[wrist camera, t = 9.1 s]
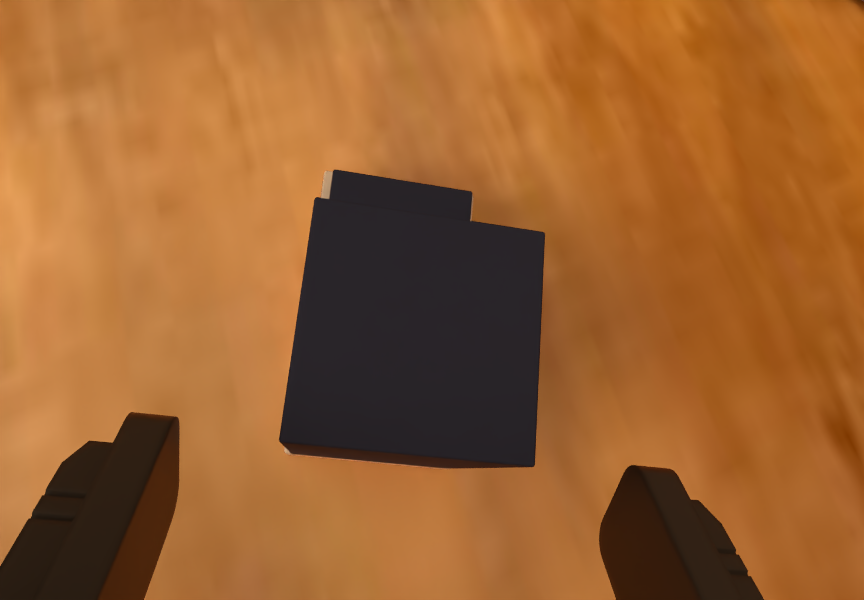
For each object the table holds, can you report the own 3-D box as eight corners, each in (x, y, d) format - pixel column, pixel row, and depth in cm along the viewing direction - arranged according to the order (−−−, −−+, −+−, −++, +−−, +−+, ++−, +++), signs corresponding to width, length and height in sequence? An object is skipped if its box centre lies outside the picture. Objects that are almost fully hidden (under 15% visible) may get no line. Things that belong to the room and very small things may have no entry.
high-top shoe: (443, 469, 21) (545, 468, 12) (285, 454, 20) (266, 441, 11) (464, 210, 23) (563, 45, 14) (323, 188, 23) (334, -1, 14)
